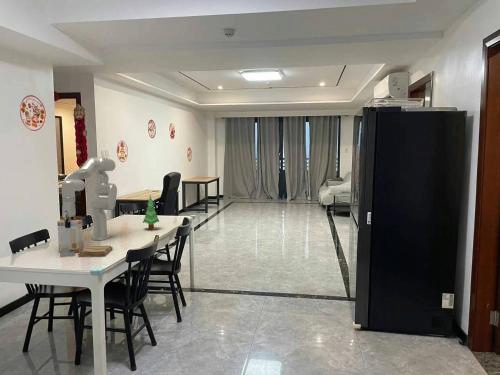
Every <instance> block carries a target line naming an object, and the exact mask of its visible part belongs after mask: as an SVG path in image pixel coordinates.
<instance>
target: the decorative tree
mask: <svg viewBox="0 0 500 375" xmlns="http://www.w3.org/2000/svg"><path fill="white" fill-rule="evenodd" d="M151 196H152V195H150V194H149V199H148V203H147V208H146V212H145V214H144V215H145V216H144V218H143V220H142V223H143V224H144V223H146V224H148V231H154V230H155V224H157V223H159V222H160V220H159V217H158V215H157V212H156V210H155V207H154V203H153V199H152V197H151ZM153 229H154V230H153Z"/></svg>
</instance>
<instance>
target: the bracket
mask: <svg viewBox="0 0 500 375" xmlns="http://www.w3.org/2000/svg"><path fill="white" fill-rule="evenodd" d="M75 256H76V252H75V250H73V249H69V250H67V251H61V252H59V257H60V258H66V257H75Z"/></svg>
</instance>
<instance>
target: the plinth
mask: <svg viewBox="0 0 500 375" xmlns="http://www.w3.org/2000/svg"><path fill="white" fill-rule="evenodd" d="M112 251H113V246H111V245H88V246H86V248H83V250H82V251H81V252H78V255H77V256H78V258H94V257H95V258H97V257H99V258H103V257H106V256H107V255H109V253H111V252H112Z"/></svg>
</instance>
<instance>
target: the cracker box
mask: <svg viewBox="0 0 500 375" xmlns="http://www.w3.org/2000/svg"><path fill="white" fill-rule="evenodd" d="M64 221H65V220H64V219H60V220H58V221H57V239H58V242H57V244H58V252H59V253H60V252H61V251H67V250H69V249H73V250H75V253H80V252H81V251H82V250H84V234H83V220H82V219H75V220H70V228H65V222H64Z"/></svg>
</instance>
